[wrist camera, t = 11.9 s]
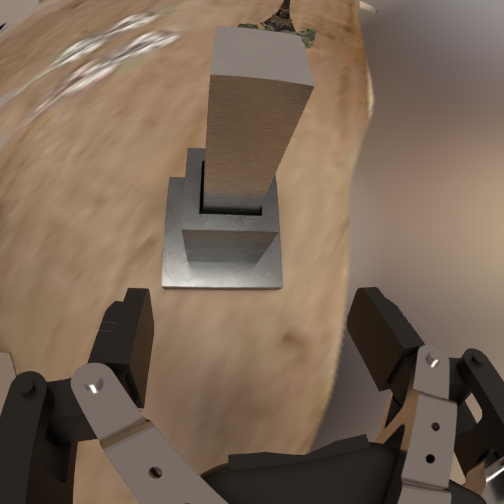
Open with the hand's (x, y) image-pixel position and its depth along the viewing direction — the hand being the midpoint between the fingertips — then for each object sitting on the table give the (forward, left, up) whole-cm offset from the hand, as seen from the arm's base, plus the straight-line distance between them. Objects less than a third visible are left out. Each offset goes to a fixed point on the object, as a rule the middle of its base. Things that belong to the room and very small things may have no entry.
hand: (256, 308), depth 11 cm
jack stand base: (-7, +7, -19) cm, 22 cm away
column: (-7, +7, -12) cm, 16 cm away
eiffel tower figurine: (-31, +45, -20) cm, 58 cm away
